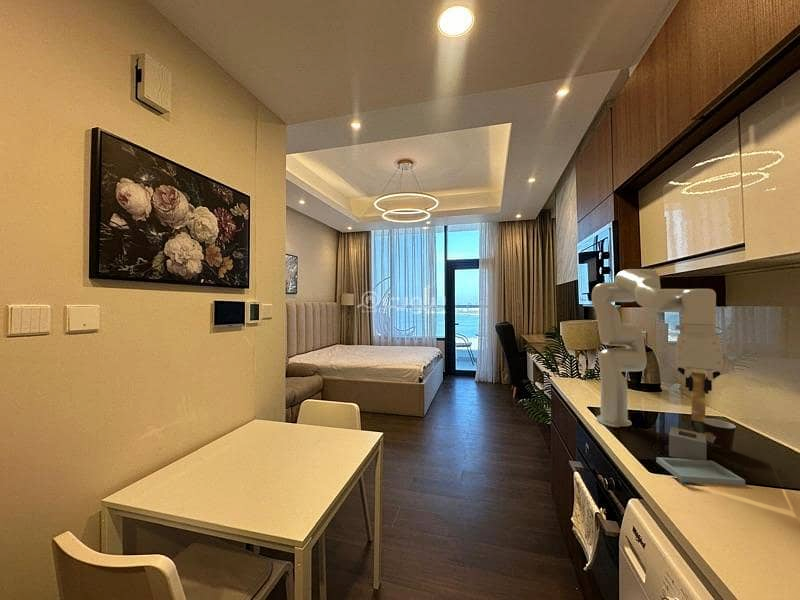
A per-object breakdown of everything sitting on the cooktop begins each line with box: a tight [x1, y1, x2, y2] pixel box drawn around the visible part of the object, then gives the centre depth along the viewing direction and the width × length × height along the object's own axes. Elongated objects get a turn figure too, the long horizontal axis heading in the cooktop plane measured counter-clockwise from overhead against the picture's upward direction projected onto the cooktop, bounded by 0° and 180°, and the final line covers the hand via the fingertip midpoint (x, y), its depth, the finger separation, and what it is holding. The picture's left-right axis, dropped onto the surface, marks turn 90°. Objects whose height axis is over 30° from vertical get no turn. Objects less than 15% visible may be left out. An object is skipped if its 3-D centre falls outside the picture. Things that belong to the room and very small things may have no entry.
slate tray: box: [655, 456, 746, 488], centre depth 96 cm, size 11×16×2 cm
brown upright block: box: [691, 371, 706, 423], centre depth 96 cm, size 3×3×14 cm
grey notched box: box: [668, 426, 707, 460], centre depth 107 cm, size 9×9×8 cm
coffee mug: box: [691, 418, 736, 455], centre depth 113 cm, size 12×9×10 cm
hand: (698, 391), depth 96 cm, fingers closed on brown upright block, 3 cm apart
